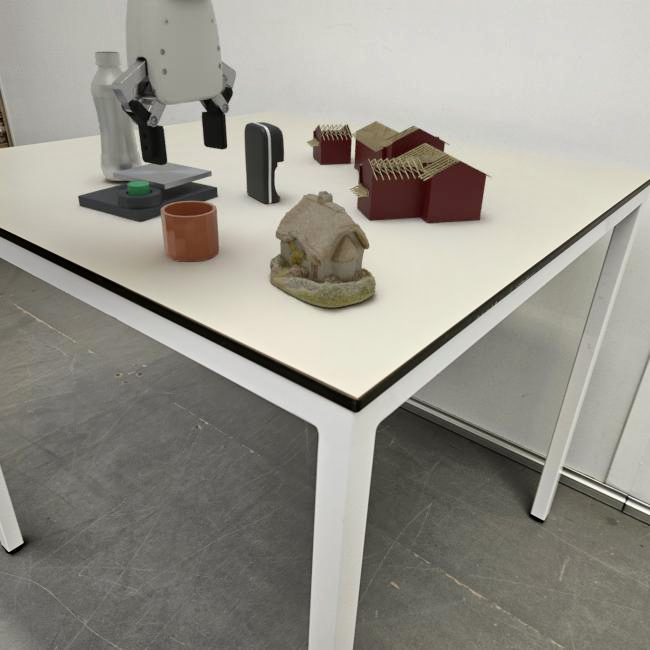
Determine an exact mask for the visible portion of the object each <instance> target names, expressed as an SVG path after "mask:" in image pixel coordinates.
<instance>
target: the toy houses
mask: <svg viewBox="0 0 650 650" xmlns="http://www.w3.org/2000/svg"><path fill="white" fill-rule="evenodd" d="M353 138H355V143H354V144H355V145H354V161H353V162H354V164H353V168H354V169H355V170H357V171H358V179H357V180H358V182H357V183H358V184H357V185H355V186H353V187H352V188H349V191H351V192H352V193H353V194H354V196H356V197H357V201H356V202H357V203H356V208H357V210H359V212H360V213H362V215H364V217H366V219H368V220H369V221H378V220H382V221H383V220H397V219H416V218H417V219H418V218H420V219H422V220H423V221H424V222H426V224H433V223H449V222H451V223H452V222H464V221H465V222H466V221H480V220H481V214H482V207H483V203H484V202H483V201H484V195H485V188H486V182H487V177H488V178H489V179H492V177H493V176H491V175H489V174H488V173H485V172H484V171H481V170H480V169H477V168H475V167H474V166H471V165H470V164H468V163H466V162H465V161H462V160H460V159H458V158H456V157H454V156H452V155H451V154H448V153H447V152H445V145H447V146H450V143H448V142H446V141H445V140H442V139H441V138H440V137H439V136H437V135H436V136H435V135H434V134H431V133H429V132H427V131H426V130H424V129H422V128H420V127H418V126H416V125H412V126H410V127H408V128H406V129H404V130H402V131H399V132H398V131H397V130H396V129H393V128H391V127H389V126H387V125H385V124H383V123H382V122H379V121H377V120H375V121H374V122H371V123H369V124H367V125H366V126H364V127H362V128H359V129H357V130H355V132H354V133H352V132H351V129H350V126H349V124H348V123H345V124H342V123H341V124H340V123H339V124H337V123H336V124H335V125H334V124H331V125H330V124H322V126H320V124H318V125H317V126H316V127H315V129H313V131H312V138H311V139H310V140H308V141H306V144H308V145H309V146H310V147H311V148H312V158H313V159H314V160H315V161H316V162H317V163H318V164H320V165H338V164H339V165H343V164H347V165H348V164H352V163H351V162H352V145H353V144H352V142H353V141H352V140H353Z"/></svg>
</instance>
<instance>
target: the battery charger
mask: <svg viewBox="0 0 650 650" xmlns="http://www.w3.org/2000/svg"><path fill="white" fill-rule="evenodd" d="M244 160H245V175H246V176H245V177H246V193H247V195H249V196H250V197H252V198H254V199H255V200H257V201H259V202H261V203H263V204H272V203H276V202H279V201H280V200H281V196H280V195H279V194H278V192H277V189H276V183H275V181H276V180H275V179H276V170H277V168H278V165H279V163H284V161H285V143H284V134H283V131H282V130H281V128H280V127H278V126H277V125H274V124H272V123H269V122H265V121H259V122H255V121H253V122H252V121H251V122H248V123H246V125H245V127H244Z"/></svg>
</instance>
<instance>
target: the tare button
mask: <svg viewBox="0 0 650 650" xmlns="http://www.w3.org/2000/svg"><path fill="white" fill-rule="evenodd" d="M129 182H130V181H129ZM129 182H127V183H128V184H127V186H128V193H129V195H137V196H139V195H147V194H150V185H149V182H145V181H134V182H130V183H129Z"/></svg>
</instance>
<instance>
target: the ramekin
mask: <svg viewBox="0 0 650 650" xmlns="http://www.w3.org/2000/svg"><path fill="white" fill-rule="evenodd" d="M160 219H161V229H162V238H163V247H164V248H163V249H164V253H165V256H166V257H167V258H169V259H171V260H173V261H176V262H184V263H185V262H186V263H191V262H195V263H196V262H202V261H206V260H209V259H212V258H215V257H216V256H218V255H219V253H220V239H219V223H218V222H219V221H218V209H217V205H215V204H213V203H211V202H206V201H181V202H174V203H171V204H167V205H165V206H163V207H162V208H161V216H160Z"/></svg>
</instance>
